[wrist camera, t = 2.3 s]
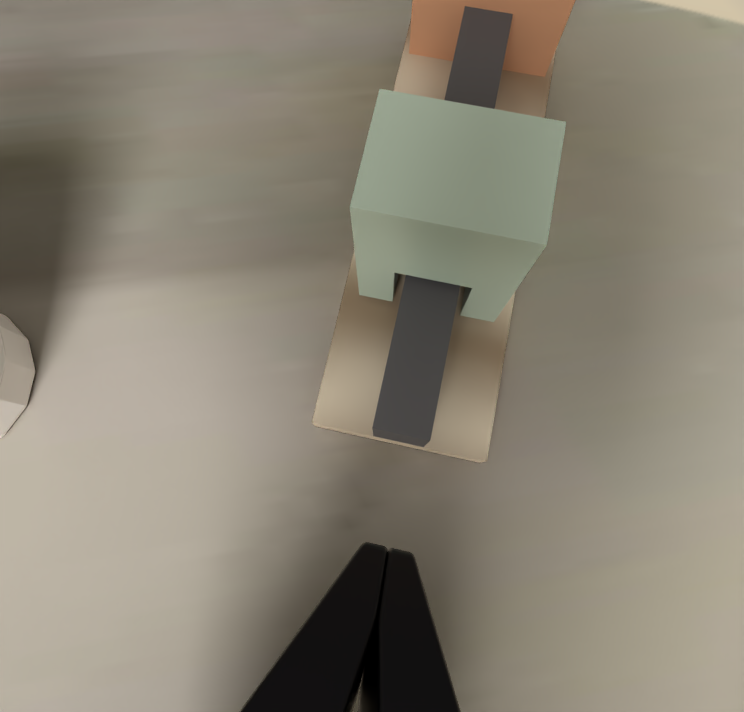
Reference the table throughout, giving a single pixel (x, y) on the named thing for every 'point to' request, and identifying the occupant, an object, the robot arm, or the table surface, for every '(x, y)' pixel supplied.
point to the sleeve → (453, 198)
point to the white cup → (13, 373)
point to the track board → (377, 317)
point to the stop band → (526, 37)
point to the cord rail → (428, 297)
